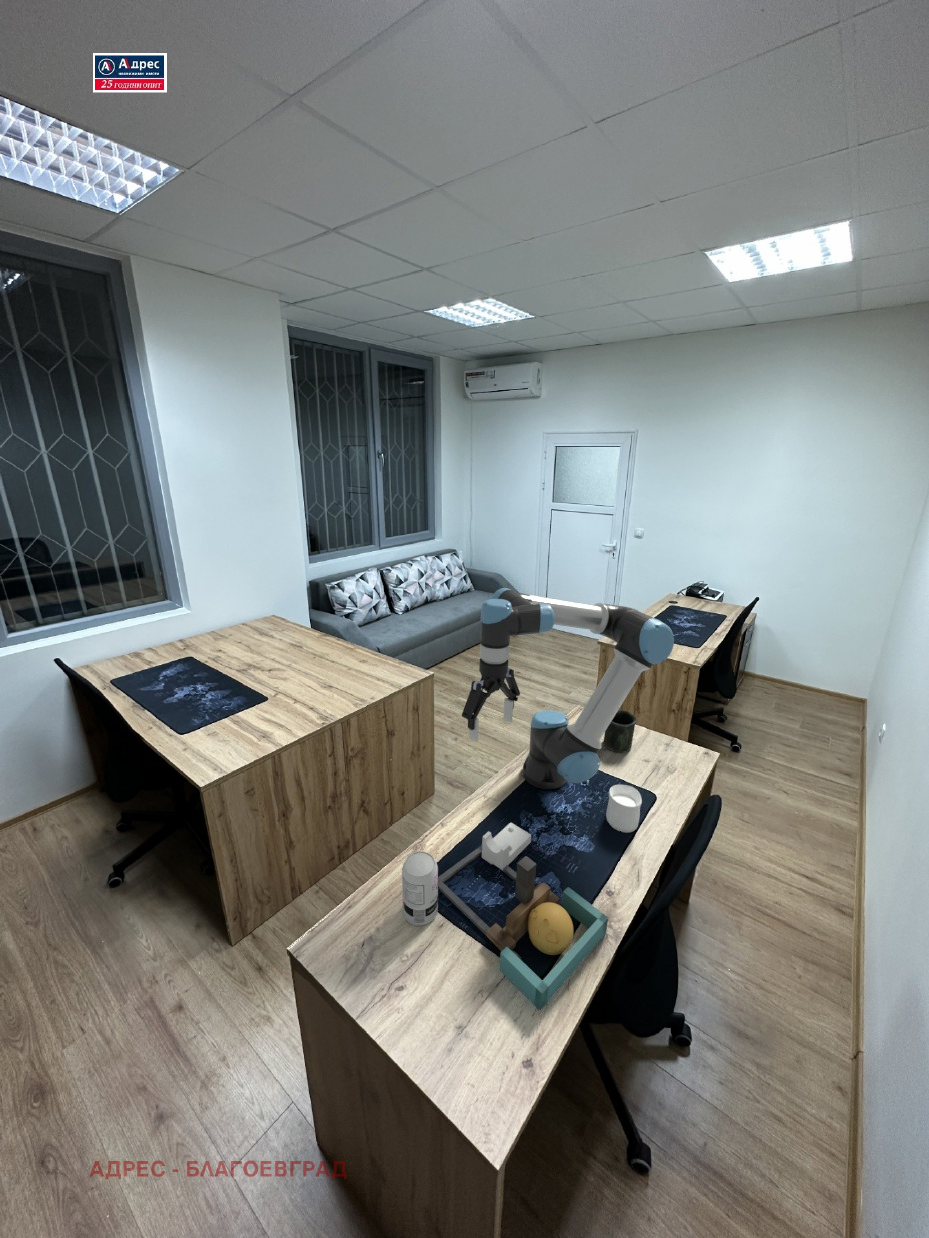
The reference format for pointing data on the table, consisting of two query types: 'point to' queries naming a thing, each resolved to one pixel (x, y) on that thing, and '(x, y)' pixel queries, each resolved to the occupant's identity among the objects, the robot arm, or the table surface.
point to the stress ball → (550, 928)
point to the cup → (623, 808)
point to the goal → (545, 989)
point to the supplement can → (420, 888)
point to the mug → (620, 732)
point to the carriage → (521, 906)
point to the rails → (457, 900)
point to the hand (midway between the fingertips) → (491, 729)
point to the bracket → (504, 845)
